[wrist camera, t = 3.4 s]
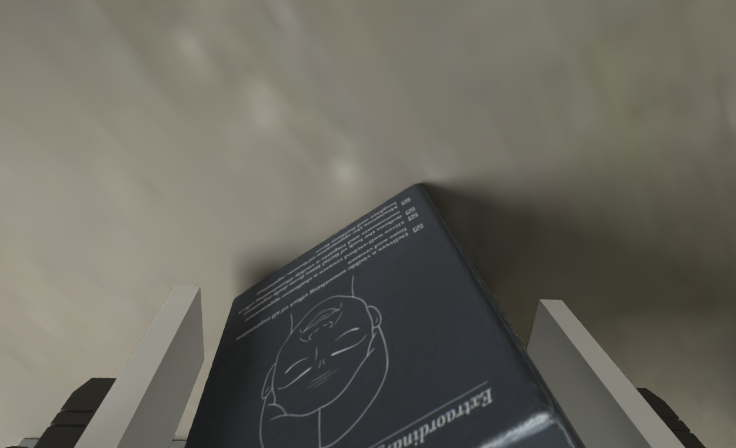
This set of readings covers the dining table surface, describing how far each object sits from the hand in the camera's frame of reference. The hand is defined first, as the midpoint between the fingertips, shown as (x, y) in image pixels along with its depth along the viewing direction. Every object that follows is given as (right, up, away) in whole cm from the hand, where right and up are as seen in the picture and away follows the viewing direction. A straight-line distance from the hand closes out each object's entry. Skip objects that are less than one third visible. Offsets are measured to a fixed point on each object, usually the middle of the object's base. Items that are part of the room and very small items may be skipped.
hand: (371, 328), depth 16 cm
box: (0, +1, +2) cm, 2 cm away
